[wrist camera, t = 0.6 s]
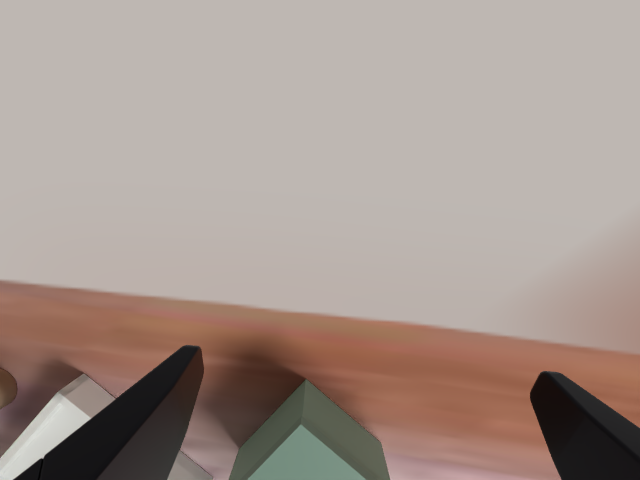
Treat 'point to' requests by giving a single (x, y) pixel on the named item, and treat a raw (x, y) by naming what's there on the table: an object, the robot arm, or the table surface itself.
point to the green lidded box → (310, 444)
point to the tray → (64, 419)
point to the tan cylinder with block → (7, 388)
